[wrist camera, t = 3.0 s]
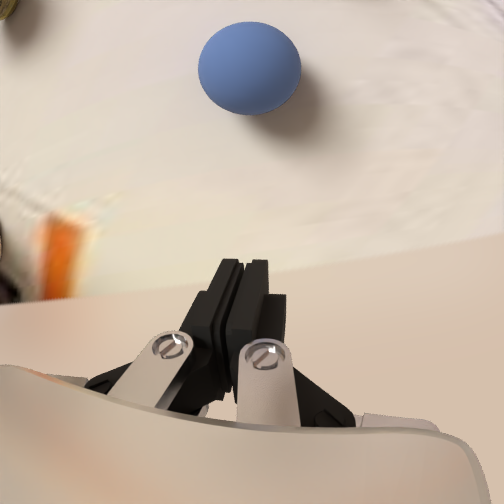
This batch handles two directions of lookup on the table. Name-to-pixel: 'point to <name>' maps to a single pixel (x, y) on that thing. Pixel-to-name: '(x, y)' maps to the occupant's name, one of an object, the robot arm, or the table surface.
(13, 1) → the cup
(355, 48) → the table surface
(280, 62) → the ball
